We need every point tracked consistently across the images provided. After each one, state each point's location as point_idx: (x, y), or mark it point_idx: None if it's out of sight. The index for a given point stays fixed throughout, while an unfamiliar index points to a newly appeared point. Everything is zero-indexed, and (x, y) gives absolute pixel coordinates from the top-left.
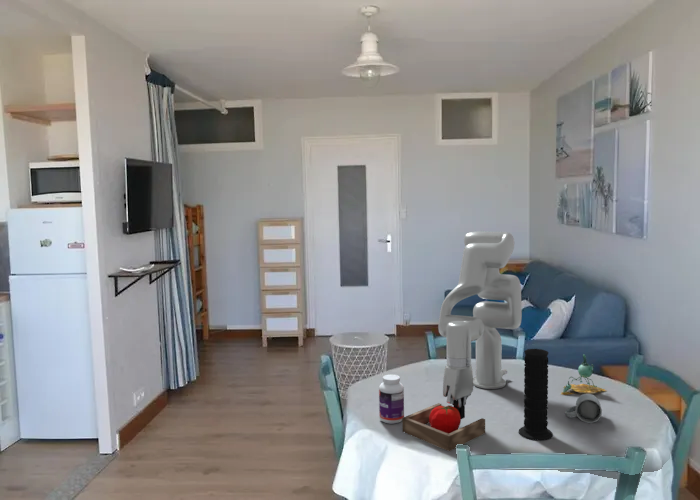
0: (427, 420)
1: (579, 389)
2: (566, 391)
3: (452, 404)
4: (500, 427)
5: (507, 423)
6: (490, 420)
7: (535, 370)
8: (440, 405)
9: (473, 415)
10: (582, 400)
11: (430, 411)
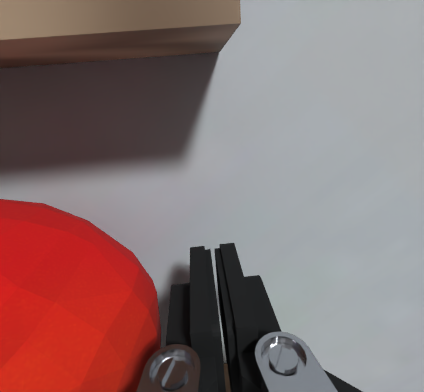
0: (11, 63)
1: None
2: None
3: (145, 370)
4: (351, 369)
5: (416, 358)
6: (401, 295)
7: None
8: (216, 29)
9: (412, 189)
10: None
11: (11, 47)
